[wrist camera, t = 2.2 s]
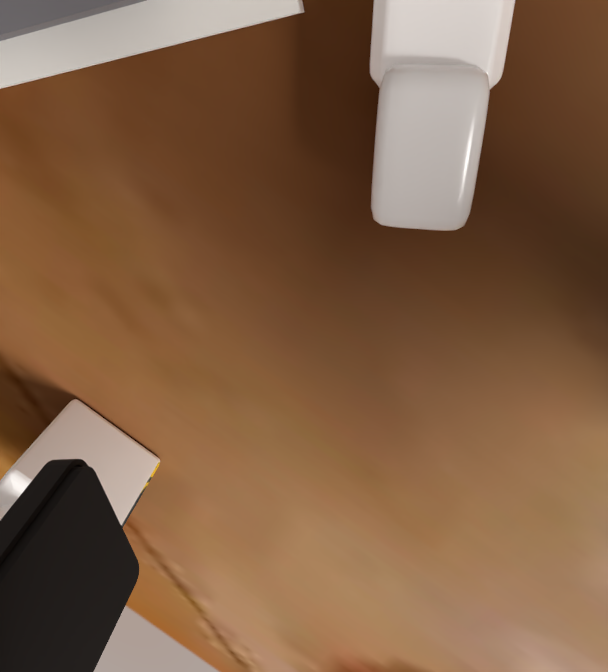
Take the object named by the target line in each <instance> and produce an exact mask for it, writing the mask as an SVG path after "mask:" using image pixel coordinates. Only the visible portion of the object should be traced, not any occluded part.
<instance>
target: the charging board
mask: <svg viewBox="0 0 608 672" xmlns="http://www.w3.org/2000/svg"><path fill="white" fill-rule="evenodd" d="M300 13H304V6H303V1H302V0H0V89H2V88H6V87H10V86H14V85H18V84H22V83H26V82H30V81H34V80H38V79H42V78H45V77H49V76H53V75H57V74H61V73H65V72H69V71H73V70H77V69H81V68H85V67H89V66H93V65H97V64H101V63H105V62H109V61H113V60H117V59H121V58H125V57H129V56H133V55H137V54H141V53H145V52H149V51H153V50H157V49H161V48H165V47H169V46H173V45H177V44H181V43H185V42H189V41H193V40H197V39H201V38H205V37H209V36H213V35H217V34H221V33H225V32H228V31H232V30H236V29H240V28H244V27H248V26H252V25H256V24H260V23H264V22H268V21H272V20H276V19H280V18H284V17H288V16H292V15H296V14H300Z"/></svg>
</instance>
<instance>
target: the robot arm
mask: <svg viewBox="0 0 608 672" xmlns="http://www.w3.org/2000/svg"><path fill="white" fill-rule="evenodd" d="M138 575H139V563H138V560H137V558H136V556H135V554H134V552H133V550H132V548H131V545H130V543H129V541H128V539H127V537H126V535H125V533H124V531H123V529H122V527H121V524H120V522H119V520H118V518H117V516H116V514H115V512H114V510H113V508H112V506H111V503H110V501H109V499H108V497H107V495H106V493H105V491H104V489H103V487H102V485H101V482H100V480H99V478H98V476H97V474H96V472H95V470H94V469H93V468H92V467H89V466H88V465H87V463H86V462H85V461H84V460H82V459H59V460H51V461H49V462H47V463H46V464H45V465H44V466H43V468H42V469H41V470H40V471H39V473H38V474H37V475H36V476H35V478H34V479H33V480H32V481H31V483H30V484H29V485H28V486H27V488H26V489H25V490H24V491H23V493H22V494H21V495H20V496H19V498H18V499H17V500H16V501H15V503H14V504H13V505H12V506H11V508H10V509H9V510H8V511H7V513H6V514H5V515H4V516H3V518H2V519H1V520H0V672H93V671H94V669H95V667H96V665H97V663H98V661H99V659H100V657H101V655H102V652H103V650H104V648H105V646H106V644H107V642H108V640H109V638H110V636H111V634H112V632H113V630H114V628H115V626H116V623H117V621H118V619H119V617H120V615H121V613H122V611H123V609H124V607H125V605H126V603H127V601H128V598H129V596H130V594H131V592H132V590H133V588H134V586H135V584H136V582H137V579H138Z"/></svg>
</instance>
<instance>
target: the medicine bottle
mask: <svg viewBox="0 0 608 672" xmlns="http://www.w3.org/2000/svg"><path fill="white" fill-rule="evenodd" d="M59 459H82V460H84V461H85V462H86V463H87V465H88V466H89V467H92V468H93V469H94V470H95V472H96V474H97V476H98V478H99V480H100V482H101V485H102V487H103V489H104V491H105V493H106V495H107V497H108V499H109V501H110V503H111V506H112V508H113V510H114V512H115V514H116V516H117V518H118V520H119V522H120V524H121V527H122V528H123V526H124V524H125V523H126V521H127V519H128V518H129V516H130V514H131V512H132V511H133V509H134V507H135V506H136V504H137V502H138V500H139V499H140V497H141V495H142V494H143V492H144V490H145V488H146V487H147V485H148V483H149V482H150V480H151V478H152V476H153V475H154V473H155V471H156V470H157V468H158V466H159V464H160V459H159V458H158V457H157V456H155V455H154V454H152V453H151V452H150V451H148V450H147V449H146V448H144V447H143V446H141V445H140V444H139V443H137V442H136V441H135V440H133V439H132V438H130V437H129V436H128V435H126V434H125V433H123V432H122V431H121V430H119V429H118V428H117V427H115V426H114V425H112V424H111V423H110V422H108V421H107V420H106V419H104V418H103V417H101V416H100V415H99V414H97V413H96V412H94V411H93V410H92V409H90V408H89V407H88V406H86V405H85V404H83V403H82V402H81V401H79V400H77V399H74V400H72V401H70V402H69V404H68V405H67V406H66V407H65V408H64V409H63V410H62V411H61V412H60V414H59V415H58V416H57V417H56V418H55V419H54V420H53V421H52V422H51V424H50V425H49V426H48V427H47V428H46V429H45V430H44V431H43V432H42V434H41V435H40V436H39V437H38V438H37V439H36V440H35V441H34V442H33V444H32V445H31V446H30V447H29V448H28V449H27V450H26V451H25V452H24V454H23V455H22V456H21V457H20V458H19V459H18V460H17V461H16V462H15V463H14V465H13V466H12V467H11V468H10V469H9V470H8V472H7V473H6V474H5V475H4V477H3V478H2V479H1V481H0V520H1V519H2V518H3V516H4V515H5V514H6V513H7V511H8V510H9V509H10V508H11V506H12V505H13V504H14V503H15V501H16V500H17V499H18V498H19V496H20V495H21V494H22V493H23V491H24V490H25V489H26V488H27V486H28V485H29V484H30V483H31V481H32V480H33V479H34V478H35V476H36V475H37V474H38V473H39V471H40V470H41V469H42V468H43V466H44V465H45V464H46V463H47V462H49V461H51V460H59Z"/></svg>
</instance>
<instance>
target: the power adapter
mask: <svg viewBox="0 0 608 672" xmlns="http://www.w3.org/2000/svg"><path fill="white" fill-rule="evenodd" d="M514 6H515V0H374V5H373V21H372V36H371V52H370V75H371V77H372V79H373V80H374V81H375V82H376V84H377V85H378V86H379V88H380V91H379V100H378V110H377V121H376V134H375V148H374V161H373V176H372V193H371V210H372V215H373V220H375V221H376V222H378V223H379V224H381V225H384V226H390V227H399V228H410V229H423V230H441V231H450V230H457V229H459V228H461V227H463V226H464V225H465V223H466V221H467V219H468V217H469V214H470V211H471V206H472V201H473V196H474V190H475V184H476V179H477V173H478V167H479V161H480V155H481V148H482V142H483V136H484V130H485V123H486V117H487V110H488V102H489V94H490V89H491V88H492V87H493V86H494V85H496V84H497V83H498V82H499V80H500V79H501V77H502V73H503V69H504V64H505V58H506V52H507V46H508V41H509V35H510V29H511V23H512V17H513V12H514Z"/></svg>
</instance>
